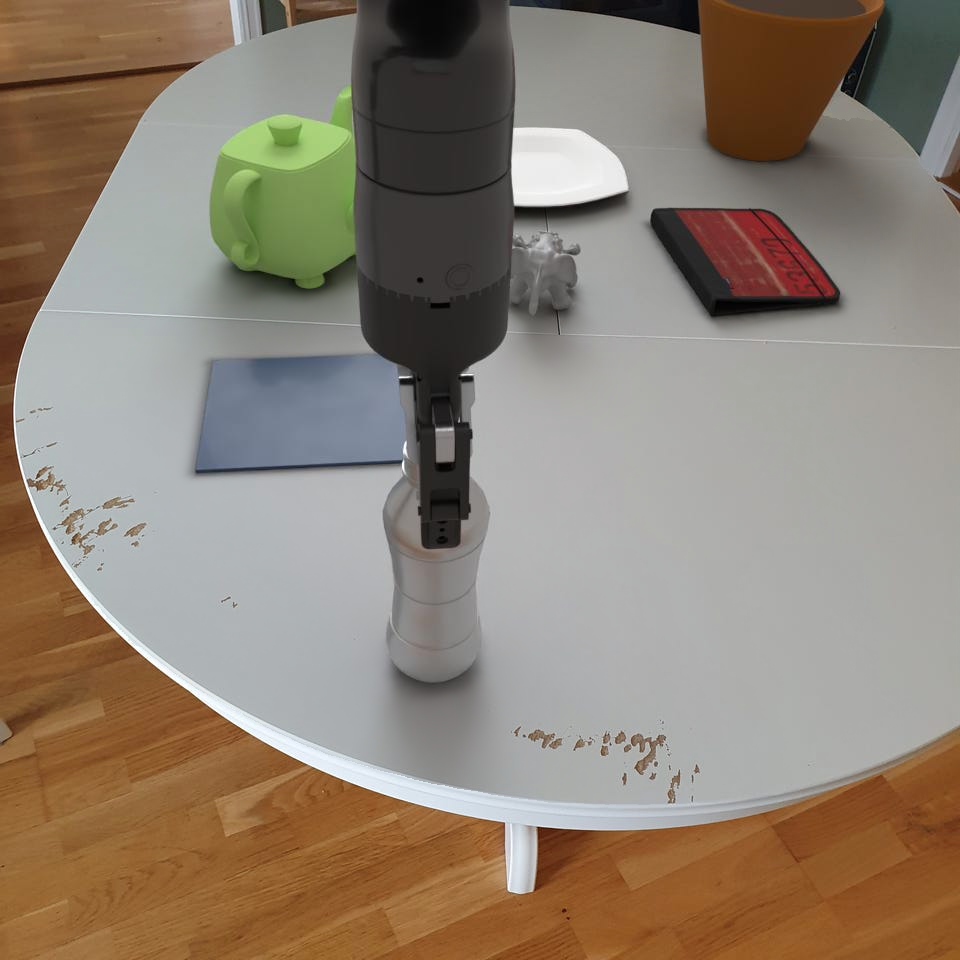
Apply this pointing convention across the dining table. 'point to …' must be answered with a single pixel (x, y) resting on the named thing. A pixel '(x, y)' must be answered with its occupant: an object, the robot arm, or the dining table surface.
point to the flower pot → (775, 68)
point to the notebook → (742, 259)
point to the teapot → (287, 195)
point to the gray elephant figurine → (543, 269)
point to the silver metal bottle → (432, 586)
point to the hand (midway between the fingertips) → (434, 492)
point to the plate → (562, 168)
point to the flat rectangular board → (301, 413)
